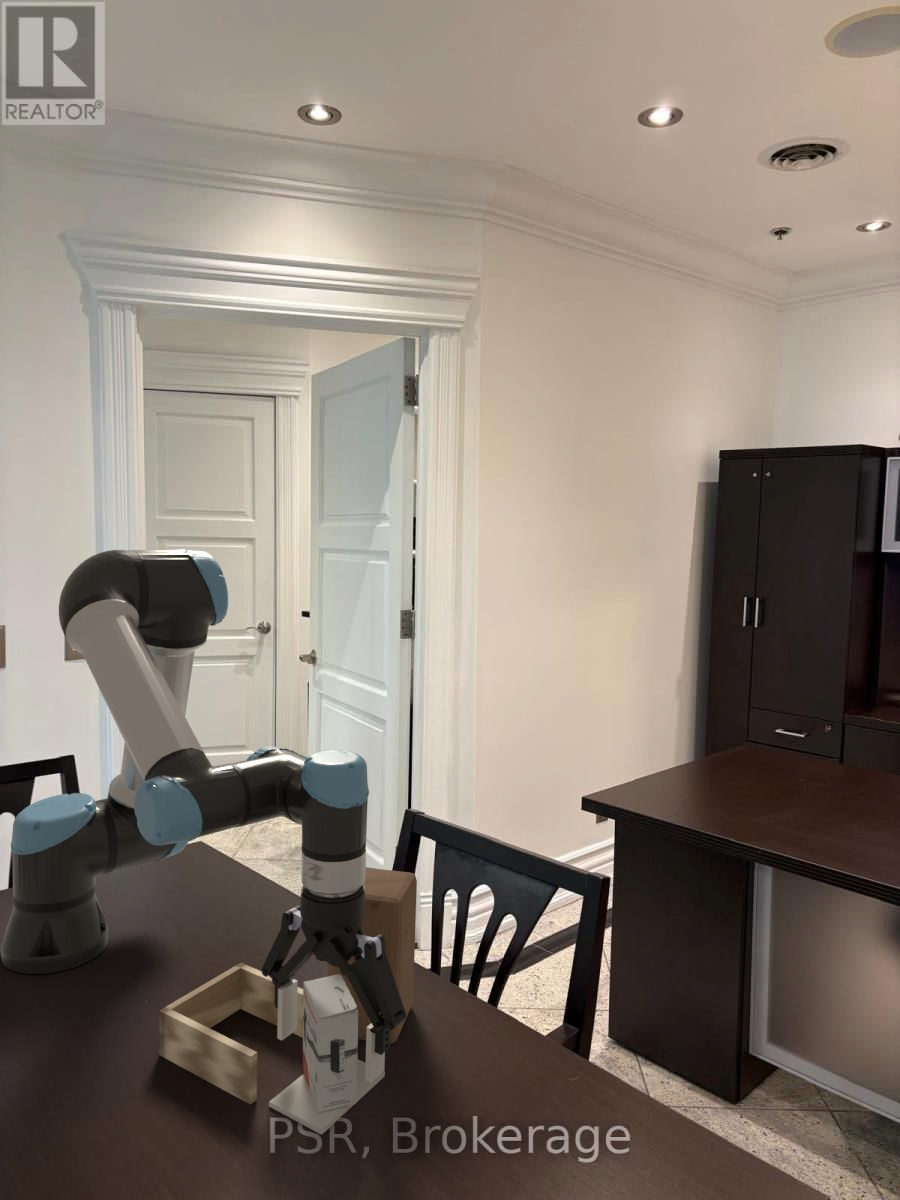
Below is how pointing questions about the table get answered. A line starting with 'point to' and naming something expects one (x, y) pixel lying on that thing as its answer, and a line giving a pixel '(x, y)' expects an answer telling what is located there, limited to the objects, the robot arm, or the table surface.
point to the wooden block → (389, 934)
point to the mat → (302, 1106)
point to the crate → (210, 1051)
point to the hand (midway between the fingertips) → (329, 1054)
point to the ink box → (330, 1042)
